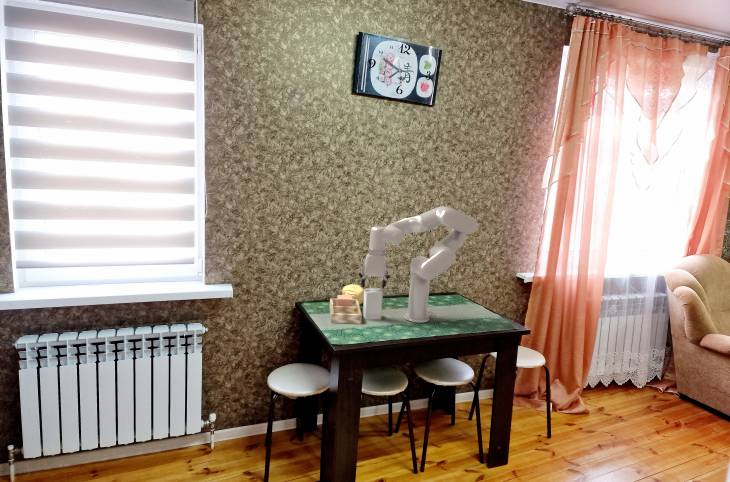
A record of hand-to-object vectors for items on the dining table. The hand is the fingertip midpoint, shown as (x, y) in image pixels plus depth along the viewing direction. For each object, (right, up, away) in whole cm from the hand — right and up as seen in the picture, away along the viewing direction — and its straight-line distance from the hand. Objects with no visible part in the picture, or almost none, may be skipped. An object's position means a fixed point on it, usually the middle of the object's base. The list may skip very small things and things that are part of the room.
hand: (373, 287), depth 226 cm
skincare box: (-1, -16, +3) cm, 16 cm away
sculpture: (-10, -12, +25) cm, 29 cm away
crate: (-14, -15, +4) cm, 21 cm away
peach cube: (-15, -13, +10) cm, 22 cm away
